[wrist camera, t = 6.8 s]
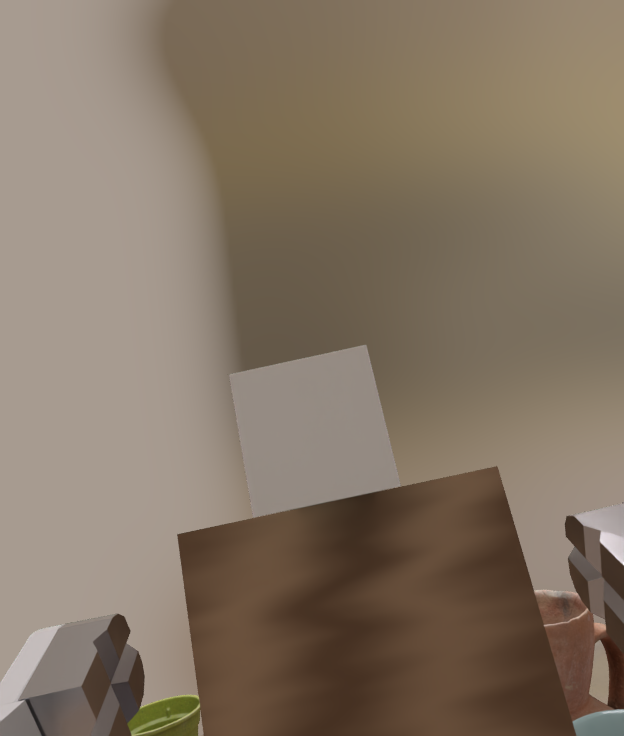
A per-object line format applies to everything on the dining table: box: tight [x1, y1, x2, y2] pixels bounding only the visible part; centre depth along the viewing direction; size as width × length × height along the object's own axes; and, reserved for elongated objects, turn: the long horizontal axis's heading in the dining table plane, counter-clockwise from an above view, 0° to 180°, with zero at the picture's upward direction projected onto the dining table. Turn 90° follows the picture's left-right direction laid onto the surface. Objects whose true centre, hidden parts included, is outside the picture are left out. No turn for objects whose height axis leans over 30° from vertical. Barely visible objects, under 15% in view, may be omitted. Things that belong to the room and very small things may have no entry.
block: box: [229, 345, 400, 517], centre depth 21 cm, size 3×22×3 cm, turn 176°
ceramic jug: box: [534, 590, 624, 722], centre depth 44 cm, size 18×14×14 cm
